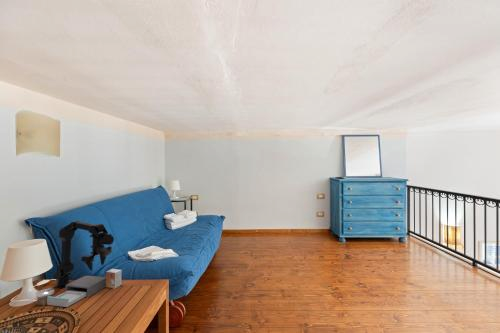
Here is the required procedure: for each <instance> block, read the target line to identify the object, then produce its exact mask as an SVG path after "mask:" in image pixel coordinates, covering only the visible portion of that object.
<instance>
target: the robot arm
mask: <svg viewBox="0 0 500 333" xmlns="http://www.w3.org/2000/svg"><path fill="white" fill-rule="evenodd" d="M78 229H79V230H84V231H88V233H89V234H90V235H89V237H90V238H91V239H92V243H91V245H90V248H91V251H90V253H89V254H86V255H82V257H81V258H80V259H81V261H80V262H83V263H84V264H86V266H87V268H88V270H89V271H93V264H94V262H95V257H98V256H99V258H100V264H101V266H104V264H105V261H106V258H107V256H109V255H111V253H112V250H113V248H112V246H111V245H112V244H113V243H114V240H115V239H114V236H113V235H112V233H109V232H108V230H107V228H106V227H105V225H104V224H103V223H96V224H95V223H93V224H92V223H89V222H88V223H87V222H83V221H80V220H75V221H72V222H70V223H69V224H68V225H65V226H64V227H63V228H62V227H61V228H60V229H59V231H58V235H59V236H58V237H59V239H60V240H61V255H60V256H61V258H60V259H61V260H60V263H59V264H58V266H57V270H56V272H55V273H53V275H52V276H53V280H56V285H54V287H53V288H59V289H63V288H66V285H67V284H69V283H70V279H69V277H70V275H72V273H73V271H74V268H75V263H74V262H72V261H71V255H72V254H71V253H72V252H71V251H72V250H71V249H72V239H73V238H74V236H75V232H76V231H77V230H78ZM105 245H108V246H107V247H105Z"/></svg>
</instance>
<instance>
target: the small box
mask: <svg viewBox="0 0 500 333" xmlns="http://www.w3.org/2000/svg"><path fill="white" fill-rule="evenodd" d="M122 271H123V270H122V269H115V268H111V269H108V270H107V271H105V277H106V287H105V288H111V289H114V290H115V289H117V288H119V287H121V286H122ZM120 285H121V286H120Z"/></svg>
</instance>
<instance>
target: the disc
mask: <svg viewBox="0 0 500 333" xmlns="http://www.w3.org/2000/svg"><path fill="white" fill-rule="evenodd" d="M54 293H55V289H54V287H53V288H52V287H50V288H42V290H39V291H37V292H36V294H35V297H36V298H37V297H38V298H41V297H46V296H49V295H51V294H53V295H54Z"/></svg>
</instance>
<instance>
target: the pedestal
mask: <svg viewBox="0 0 500 333" xmlns="http://www.w3.org/2000/svg"><path fill="white" fill-rule="evenodd" d="M49 296H52V297H54V293H53V294H51V295H49ZM47 297H48V296H46V297H41V298H38V297H36V298H37V300H36V304H37V305H38V306H47Z"/></svg>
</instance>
